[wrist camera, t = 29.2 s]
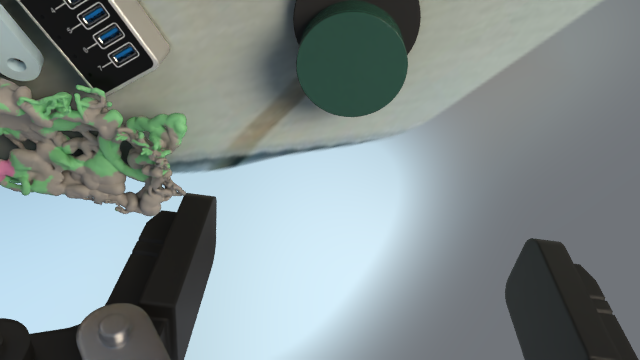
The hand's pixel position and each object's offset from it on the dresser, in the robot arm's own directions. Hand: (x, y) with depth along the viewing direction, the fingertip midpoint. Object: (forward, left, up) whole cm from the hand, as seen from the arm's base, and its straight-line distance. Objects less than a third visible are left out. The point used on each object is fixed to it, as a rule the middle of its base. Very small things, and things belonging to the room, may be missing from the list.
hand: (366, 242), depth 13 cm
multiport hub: (-12, -10, -18) cm, 24 cm away
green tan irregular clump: (-10, -13, -14) cm, 22 cm away
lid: (+1, -1, -16) cm, 16 cm away
